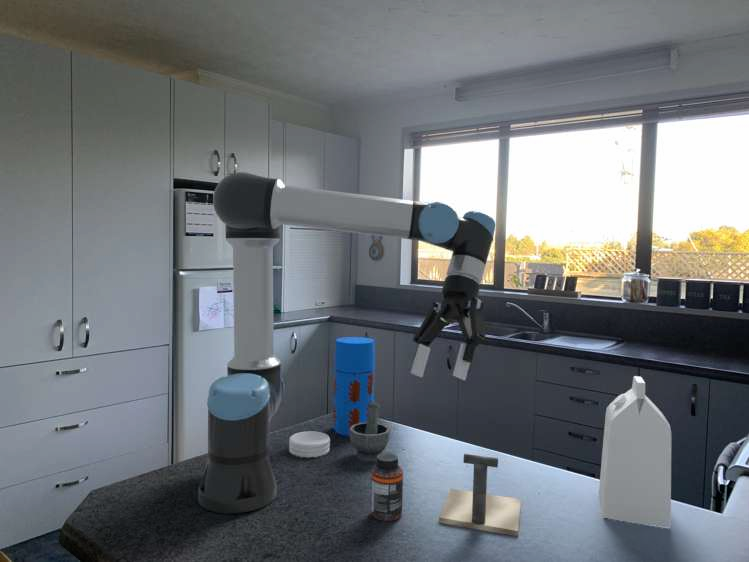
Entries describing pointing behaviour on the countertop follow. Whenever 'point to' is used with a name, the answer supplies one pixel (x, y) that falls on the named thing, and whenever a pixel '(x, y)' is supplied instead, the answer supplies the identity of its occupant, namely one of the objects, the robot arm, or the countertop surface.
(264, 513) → the countertop surface
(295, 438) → the white round container
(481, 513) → the headphone stand
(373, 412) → the mortar and pestle
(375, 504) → the supplement bottle
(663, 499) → the milk
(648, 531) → the countertop surface
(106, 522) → the countertop surface
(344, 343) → the thermos
